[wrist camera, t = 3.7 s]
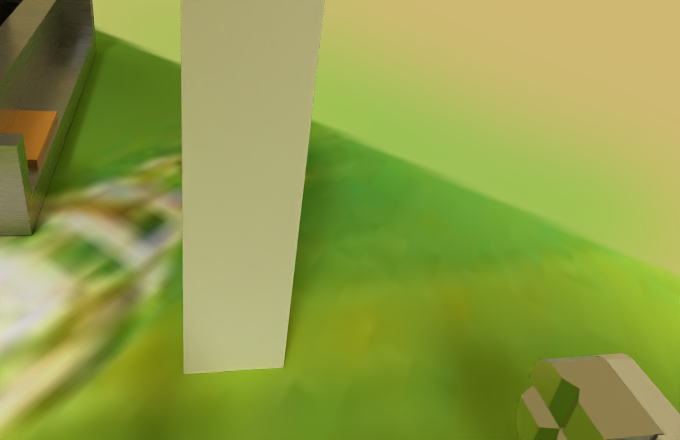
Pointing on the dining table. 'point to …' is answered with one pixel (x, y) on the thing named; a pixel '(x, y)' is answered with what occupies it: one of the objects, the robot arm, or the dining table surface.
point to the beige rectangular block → (243, 174)
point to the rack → (38, 97)
